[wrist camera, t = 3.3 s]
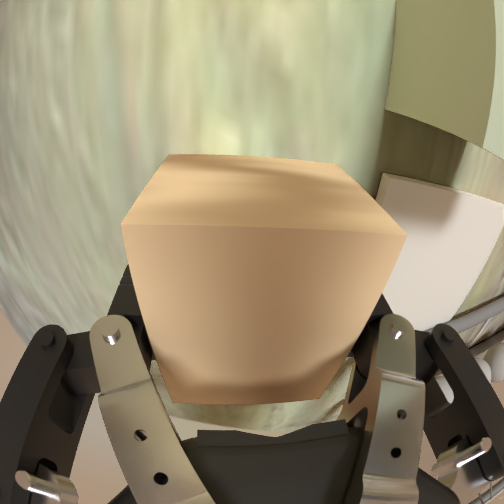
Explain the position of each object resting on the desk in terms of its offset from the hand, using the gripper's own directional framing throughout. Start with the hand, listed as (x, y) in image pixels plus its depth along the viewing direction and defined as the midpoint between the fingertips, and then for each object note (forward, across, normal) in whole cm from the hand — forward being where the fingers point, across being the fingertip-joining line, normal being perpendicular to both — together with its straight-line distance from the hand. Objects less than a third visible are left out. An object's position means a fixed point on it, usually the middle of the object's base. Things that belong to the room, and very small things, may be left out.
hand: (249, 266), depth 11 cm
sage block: (+1, -7, -9) cm, 11 cm away
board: (+1, -10, +1) cm, 10 cm away
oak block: (+1, 0, 0) cm, 1 cm away
